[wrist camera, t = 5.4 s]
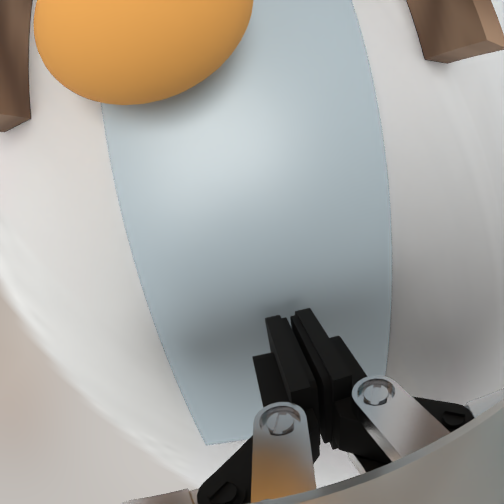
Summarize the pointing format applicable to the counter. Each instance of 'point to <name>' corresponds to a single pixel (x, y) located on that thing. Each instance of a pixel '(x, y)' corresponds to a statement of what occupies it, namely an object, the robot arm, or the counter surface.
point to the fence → (420, 3)
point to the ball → (137, 44)
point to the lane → (260, 205)
